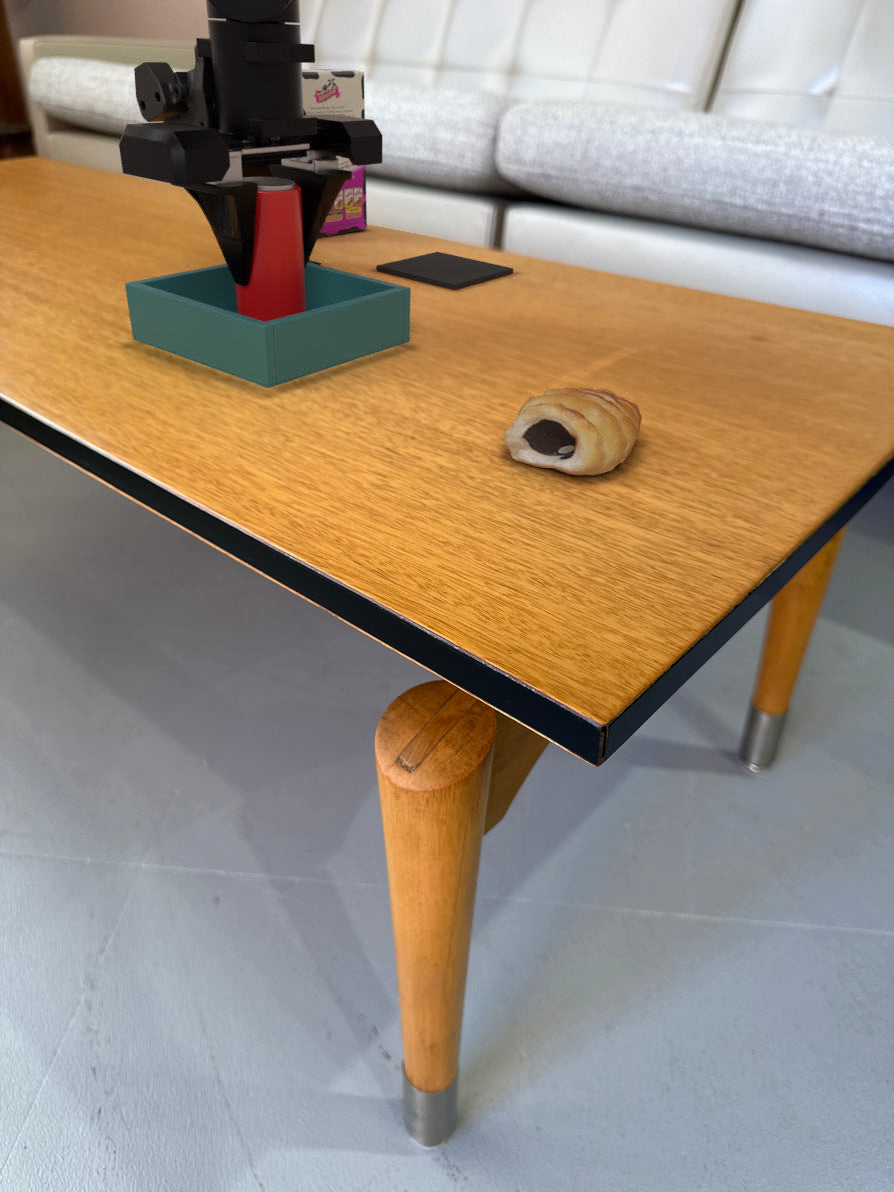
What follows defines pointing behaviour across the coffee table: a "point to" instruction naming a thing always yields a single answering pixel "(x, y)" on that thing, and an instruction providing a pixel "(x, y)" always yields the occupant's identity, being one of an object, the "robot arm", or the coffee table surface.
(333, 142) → the robot arm
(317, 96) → the candy bar box
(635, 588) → the coffee table surface
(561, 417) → the pastry
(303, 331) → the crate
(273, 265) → the can
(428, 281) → the mat
